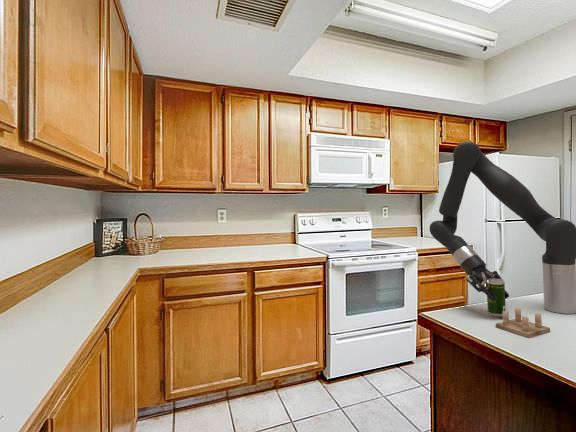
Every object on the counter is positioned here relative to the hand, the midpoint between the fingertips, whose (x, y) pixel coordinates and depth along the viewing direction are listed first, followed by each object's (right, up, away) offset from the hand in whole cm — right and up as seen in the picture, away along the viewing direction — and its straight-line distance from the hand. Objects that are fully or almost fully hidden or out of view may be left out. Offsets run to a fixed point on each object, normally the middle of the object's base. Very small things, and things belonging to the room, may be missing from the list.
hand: (501, 298), depth 110 cm
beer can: (0, -6, +2) cm, 6 cm away
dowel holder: (0, -7, -10) cm, 12 cm away
